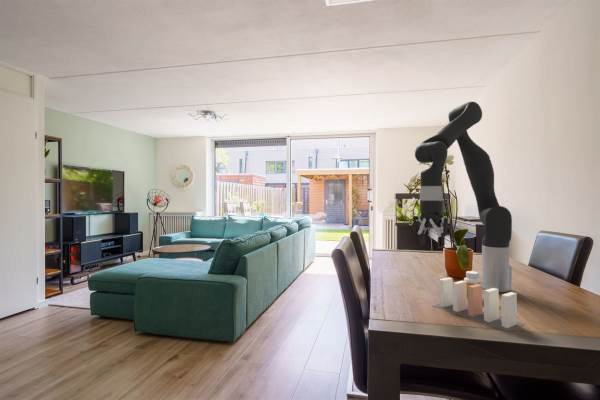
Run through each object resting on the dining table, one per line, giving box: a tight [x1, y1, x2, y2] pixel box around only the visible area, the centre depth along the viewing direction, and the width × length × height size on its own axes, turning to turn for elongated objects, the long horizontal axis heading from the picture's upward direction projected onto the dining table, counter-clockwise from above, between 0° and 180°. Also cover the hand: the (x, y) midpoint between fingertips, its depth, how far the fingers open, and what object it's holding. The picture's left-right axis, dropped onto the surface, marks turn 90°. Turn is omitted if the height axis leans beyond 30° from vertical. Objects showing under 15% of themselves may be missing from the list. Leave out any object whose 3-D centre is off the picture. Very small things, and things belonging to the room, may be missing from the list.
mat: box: [432, 303, 526, 332], centre depth 101 cm, size 24×9×1 cm, turn 31°
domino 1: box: [438, 276, 454, 307], centre depth 109 cm, size 2×5×9 cm, turn 121°
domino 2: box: [453, 280, 468, 312], centre depth 105 cm, size 2×5×9 cm, turn 121°
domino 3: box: [467, 284, 483, 317], centre depth 101 cm, size 2×5×9 cm, turn 121°
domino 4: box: [483, 288, 500, 322], centre depth 96 cm, size 2×5×9 cm, turn 121°
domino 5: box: [501, 291, 518, 328], centre depth 92 cm, size 2×5×9 cm, turn 121°
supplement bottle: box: [463, 270, 482, 300], centre depth 116 cm, size 5×5×10 cm
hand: (431, 246), depth 114 cm, fingers open, 7 cm apart
